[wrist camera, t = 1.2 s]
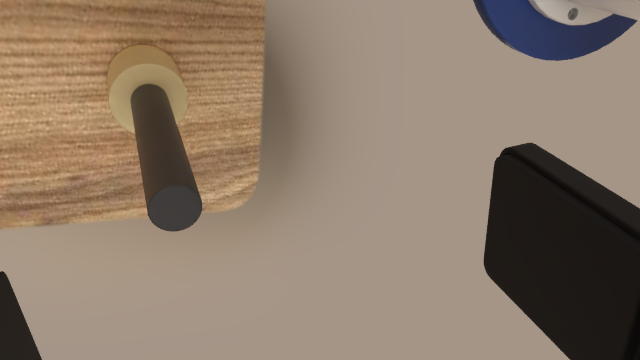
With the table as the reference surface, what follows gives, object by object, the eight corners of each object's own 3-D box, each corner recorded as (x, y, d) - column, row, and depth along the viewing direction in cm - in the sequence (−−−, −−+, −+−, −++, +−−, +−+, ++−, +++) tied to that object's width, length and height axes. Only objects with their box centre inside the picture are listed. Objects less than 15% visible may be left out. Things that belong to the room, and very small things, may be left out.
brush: (160, 33, 34) (204, 139, 20) (190, 94, 36) (247, 226, 23) (93, 61, 33) (92, 190, 20) (128, 122, 35) (149, 273, 22)
